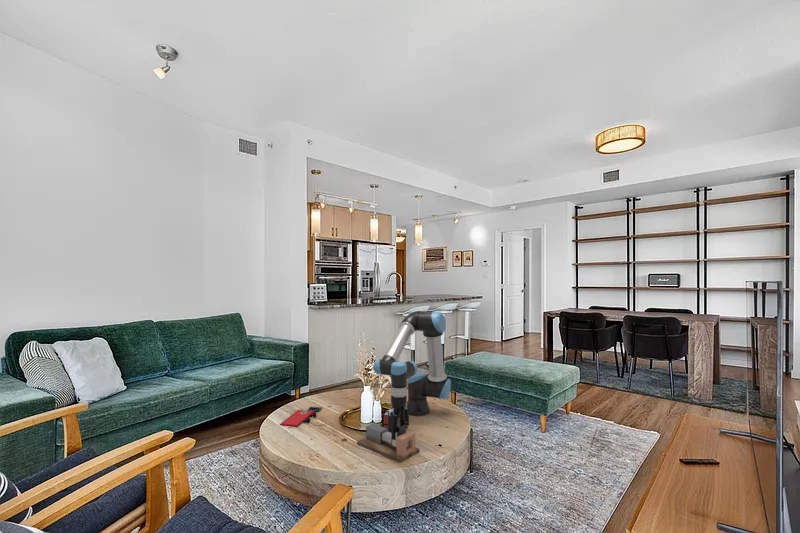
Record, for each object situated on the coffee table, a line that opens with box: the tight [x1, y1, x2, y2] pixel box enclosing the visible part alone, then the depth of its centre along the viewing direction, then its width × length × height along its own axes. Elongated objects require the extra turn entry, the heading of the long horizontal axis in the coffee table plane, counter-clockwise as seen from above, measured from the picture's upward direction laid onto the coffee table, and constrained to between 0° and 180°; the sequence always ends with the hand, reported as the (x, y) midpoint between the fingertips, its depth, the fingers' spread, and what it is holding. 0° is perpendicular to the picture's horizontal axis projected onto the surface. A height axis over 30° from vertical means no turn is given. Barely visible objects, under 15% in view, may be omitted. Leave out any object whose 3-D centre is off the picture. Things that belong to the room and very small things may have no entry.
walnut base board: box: [356, 436, 420, 464], centre depth 188 cm, size 14×29×2 cm, turn 49°
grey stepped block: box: [365, 423, 387, 445], centre depth 194 cm, size 5×10×6 cm, turn 49°
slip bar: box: [381, 422, 409, 448], centre depth 186 cm, size 5×18×10 cm, turn 49°
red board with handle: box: [278, 406, 323, 428], centre depth 230 cm, size 30×3×15 cm
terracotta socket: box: [396, 430, 416, 457], centre depth 181 cm, size 9×4×8 cm, turn 139°
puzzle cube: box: [382, 408, 400, 433], centre depth 209 cm, size 10×10×10 cm
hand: (398, 443), depth 184 cm, fingers closed on slip bar, 5 cm apart
